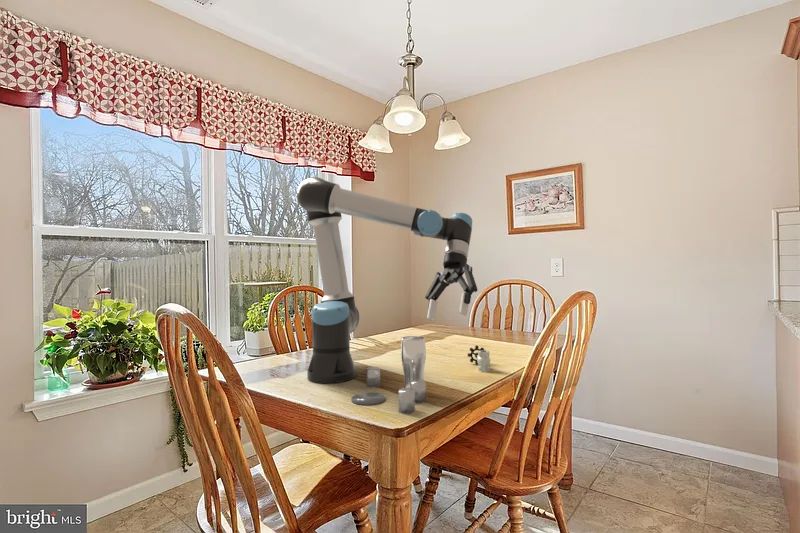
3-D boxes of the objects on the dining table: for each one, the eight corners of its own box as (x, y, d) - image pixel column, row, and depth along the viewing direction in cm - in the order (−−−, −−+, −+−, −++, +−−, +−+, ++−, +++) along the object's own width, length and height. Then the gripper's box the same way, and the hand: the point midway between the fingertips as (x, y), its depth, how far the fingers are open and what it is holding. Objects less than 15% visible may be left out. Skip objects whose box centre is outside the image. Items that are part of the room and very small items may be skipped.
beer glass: (418, 396, 119) (417, 340, 118) (396, 392, 122) (396, 338, 122) (430, 389, 125) (430, 336, 124) (409, 386, 128) (408, 334, 128)
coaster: (346, 403, 113) (346, 401, 113) (358, 393, 122) (358, 391, 122) (379, 406, 111) (379, 403, 111) (389, 395, 120) (389, 393, 120)
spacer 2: (396, 412, 106) (396, 392, 106) (400, 407, 110) (400, 387, 110) (412, 414, 105) (412, 393, 105) (416, 408, 109) (416, 388, 109)
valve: (495, 372, 143) (485, 363, 155) (495, 352, 143) (485, 345, 155) (475, 372, 143) (467, 364, 155) (475, 352, 143) (467, 345, 154)
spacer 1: (364, 386, 128) (364, 369, 128) (369, 383, 132) (369, 366, 132) (377, 387, 127) (377, 370, 127) (381, 383, 131) (381, 367, 131)
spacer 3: (408, 402, 114) (408, 383, 113) (412, 398, 117) (412, 379, 117) (423, 403, 112) (423, 384, 112) (427, 399, 116) (426, 380, 116)
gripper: (493, 253, 138) (486, 316, 129) (436, 268, 156) (426, 325, 147) (478, 242, 134) (469, 306, 124) (421, 259, 152) (410, 317, 143)
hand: (446, 316), depth 136 cm, fingers open, 13 cm apart
